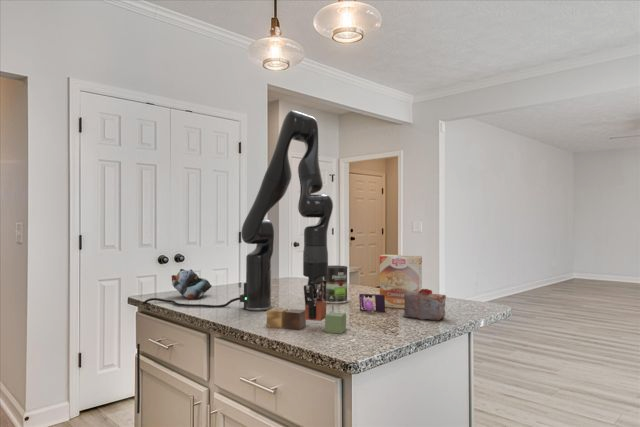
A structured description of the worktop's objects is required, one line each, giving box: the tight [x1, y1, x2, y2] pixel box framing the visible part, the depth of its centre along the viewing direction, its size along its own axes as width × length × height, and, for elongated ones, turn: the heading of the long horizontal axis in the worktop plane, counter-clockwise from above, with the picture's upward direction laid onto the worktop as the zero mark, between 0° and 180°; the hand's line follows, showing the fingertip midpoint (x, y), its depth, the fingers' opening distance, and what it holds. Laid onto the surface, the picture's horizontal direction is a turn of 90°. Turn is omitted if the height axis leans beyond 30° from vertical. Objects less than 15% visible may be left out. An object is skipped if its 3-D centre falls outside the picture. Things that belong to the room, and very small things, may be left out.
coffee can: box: [323, 265, 349, 305], centre depth 181 cm, size 10×10×14 cm
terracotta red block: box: [304, 301, 327, 322], centre depth 135 cm, size 5×5×5 cm
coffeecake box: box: [379, 254, 423, 310], centre depth 170 cm, size 15×7×20 cm, turn 68°
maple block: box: [266, 307, 289, 329], centre depth 139 cm, size 5×5×5 cm
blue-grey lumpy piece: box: [170, 268, 213, 300], centre depth 190 cm, size 15×12×14 cm
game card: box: [358, 293, 386, 314], centre depth 159 cm, size 7×5×9 cm
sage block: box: [324, 311, 347, 334], centre depth 133 cm, size 5×5×5 cm
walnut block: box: [284, 308, 307, 331], centre depth 137 cm, size 5×5×5 cm
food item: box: [404, 288, 447, 321], centre depth 151 cm, size 14×8×10 cm, turn 62°
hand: (315, 316), depth 135 cm, fingers closed on terracotta red block, 5 cm apart
